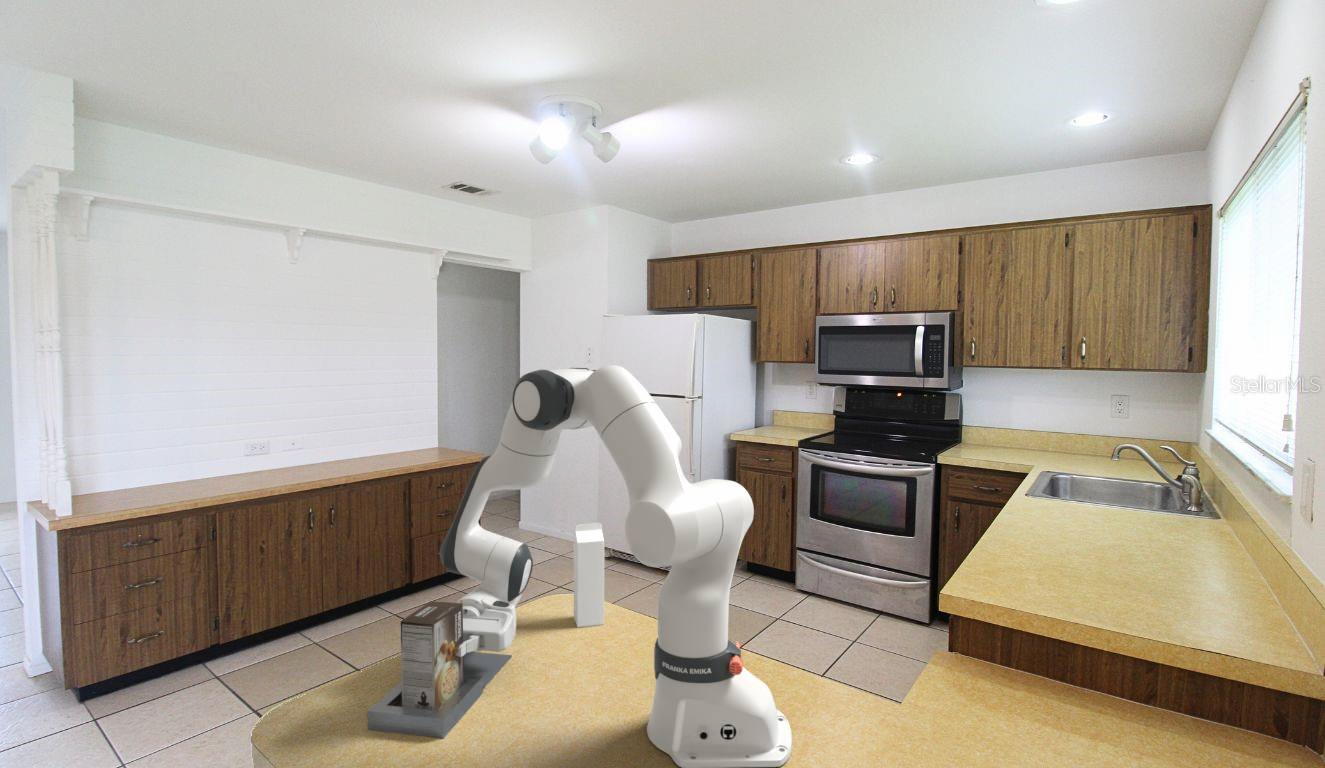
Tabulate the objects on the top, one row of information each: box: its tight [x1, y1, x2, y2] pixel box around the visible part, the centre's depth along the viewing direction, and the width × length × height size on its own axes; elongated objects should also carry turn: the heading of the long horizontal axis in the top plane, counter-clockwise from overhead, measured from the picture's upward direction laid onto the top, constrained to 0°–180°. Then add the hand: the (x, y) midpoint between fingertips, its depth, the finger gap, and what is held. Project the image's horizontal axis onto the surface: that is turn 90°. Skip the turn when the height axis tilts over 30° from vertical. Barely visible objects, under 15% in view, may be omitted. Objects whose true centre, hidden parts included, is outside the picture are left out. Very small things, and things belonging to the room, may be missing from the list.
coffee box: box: [400, 601, 464, 711], centre depth 106 cm, size 9×6×16 cm
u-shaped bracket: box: [366, 675, 484, 739], centre depth 104 cm, size 13×14×3 cm
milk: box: [573, 522, 605, 628], centre depth 140 cm, size 6×6×22 cm
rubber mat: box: [463, 651, 513, 689], centre depth 118 cm, size 12×12×1 cm
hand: (435, 650), depth 106 cm, fingers closed on coffee box, 6 cm apart
